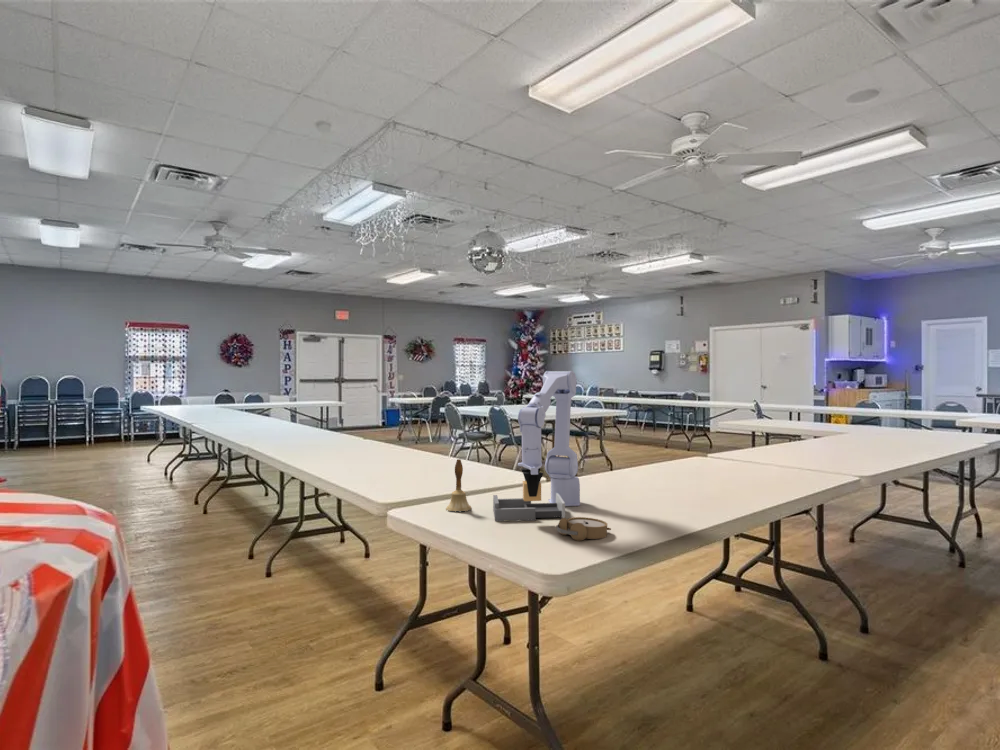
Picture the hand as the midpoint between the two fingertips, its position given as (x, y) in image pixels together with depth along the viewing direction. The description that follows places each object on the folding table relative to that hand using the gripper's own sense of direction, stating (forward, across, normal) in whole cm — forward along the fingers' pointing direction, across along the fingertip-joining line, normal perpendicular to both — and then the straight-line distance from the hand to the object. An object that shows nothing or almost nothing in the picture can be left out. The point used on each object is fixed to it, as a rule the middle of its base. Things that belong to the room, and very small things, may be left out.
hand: (531, 494), depth 166 cm
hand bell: (+9, -17, -22) cm, 29 cm away
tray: (+8, -9, +4) cm, 13 cm away
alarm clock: (+9, +13, +12) cm, 20 cm away
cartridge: (+1, 0, 0) cm, 1 cm away
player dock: (+8, -9, -5) cm, 13 cm away
